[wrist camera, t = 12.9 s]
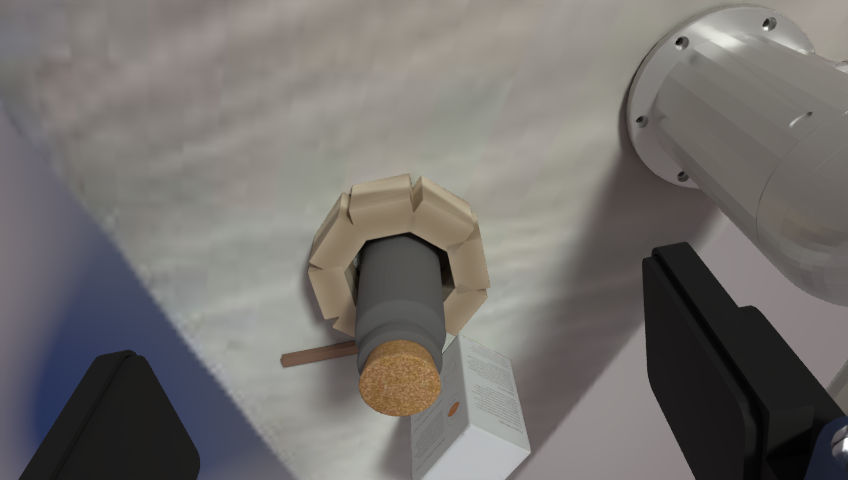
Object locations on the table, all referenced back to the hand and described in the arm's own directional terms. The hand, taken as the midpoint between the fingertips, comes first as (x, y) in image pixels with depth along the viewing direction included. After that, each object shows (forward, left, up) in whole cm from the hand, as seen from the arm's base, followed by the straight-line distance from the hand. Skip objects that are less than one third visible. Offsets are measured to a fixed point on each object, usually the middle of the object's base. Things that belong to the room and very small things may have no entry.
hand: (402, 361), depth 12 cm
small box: (+2, +31, -34) cm, 45 cm away
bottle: (+4, +17, -34) cm, 38 cm away
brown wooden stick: (+11, +25, -33) cm, 43 cm away
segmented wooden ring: (+4, +17, -33) cm, 38 cm away
